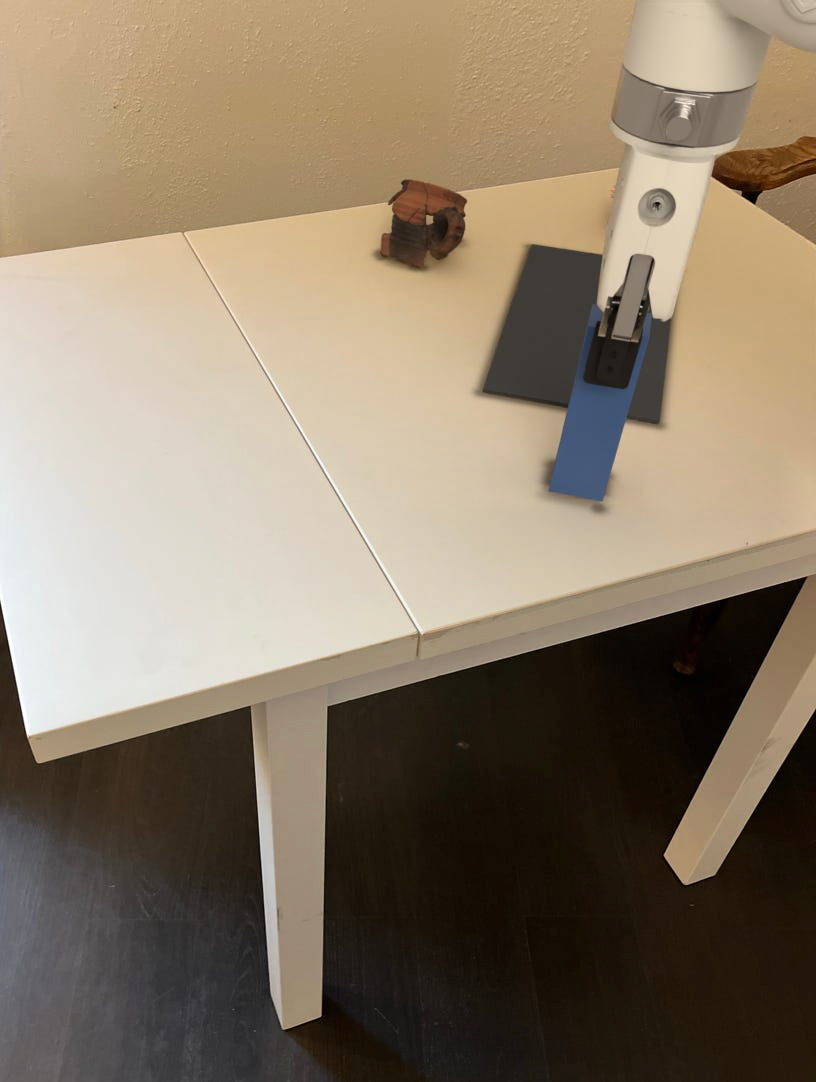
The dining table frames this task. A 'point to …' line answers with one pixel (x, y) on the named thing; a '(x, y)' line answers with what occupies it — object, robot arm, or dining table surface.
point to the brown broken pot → (424, 223)
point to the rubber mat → (564, 335)
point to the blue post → (593, 425)
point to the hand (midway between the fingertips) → (605, 379)
